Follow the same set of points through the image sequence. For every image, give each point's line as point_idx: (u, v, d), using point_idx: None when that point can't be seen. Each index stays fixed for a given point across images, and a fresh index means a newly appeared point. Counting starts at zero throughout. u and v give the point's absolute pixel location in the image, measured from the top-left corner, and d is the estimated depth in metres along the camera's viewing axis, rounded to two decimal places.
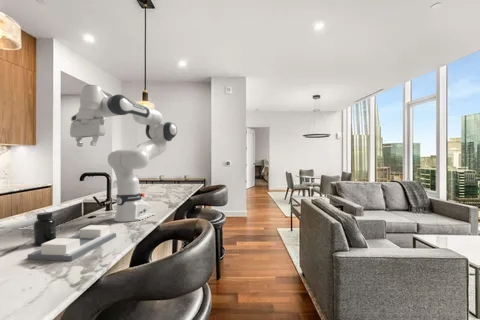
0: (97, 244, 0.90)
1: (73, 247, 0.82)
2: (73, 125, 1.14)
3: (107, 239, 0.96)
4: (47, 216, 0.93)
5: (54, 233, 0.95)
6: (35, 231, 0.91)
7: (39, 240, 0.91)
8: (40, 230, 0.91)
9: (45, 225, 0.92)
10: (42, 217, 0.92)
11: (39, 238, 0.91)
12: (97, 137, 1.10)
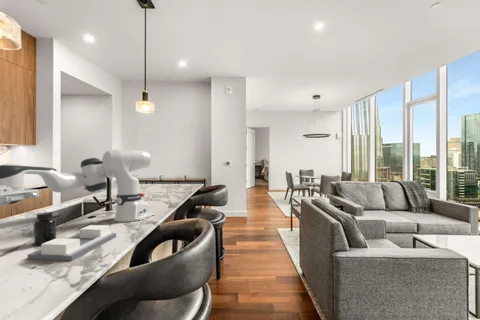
0: (97, 244, 0.90)
1: (73, 247, 0.82)
2: None
3: (107, 239, 0.96)
4: (47, 216, 0.93)
5: (54, 233, 0.95)
6: (35, 231, 0.91)
7: (39, 240, 0.91)
8: (40, 230, 0.91)
9: (45, 225, 0.92)
10: (42, 217, 0.92)
11: (39, 238, 0.91)
12: None
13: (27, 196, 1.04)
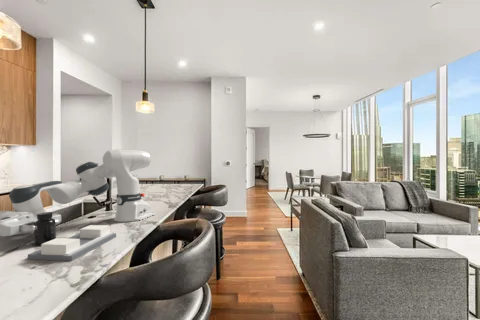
0: (97, 244, 0.90)
1: (73, 247, 0.82)
2: (5, 223, 0.90)
3: (107, 239, 0.96)
4: (47, 216, 0.93)
5: (54, 233, 0.95)
6: (35, 231, 0.91)
7: (39, 240, 0.91)
8: (40, 230, 0.91)
9: (45, 225, 0.92)
10: (42, 217, 0.92)
11: (39, 238, 0.91)
12: None
13: None
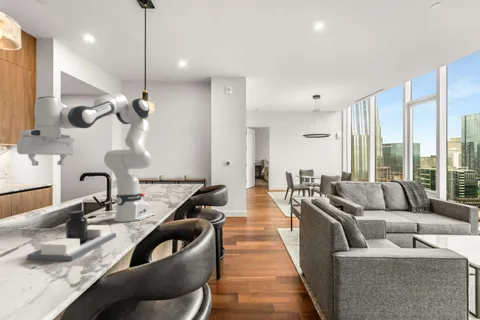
0: (97, 244, 0.90)
1: (73, 247, 0.82)
2: (29, 140, 0.95)
3: (107, 239, 0.96)
4: (80, 214, 0.90)
5: None
6: (69, 230, 0.87)
7: None
8: (74, 229, 0.87)
9: (79, 224, 0.88)
10: (76, 215, 0.88)
11: (74, 238, 0.87)
12: None
13: None
